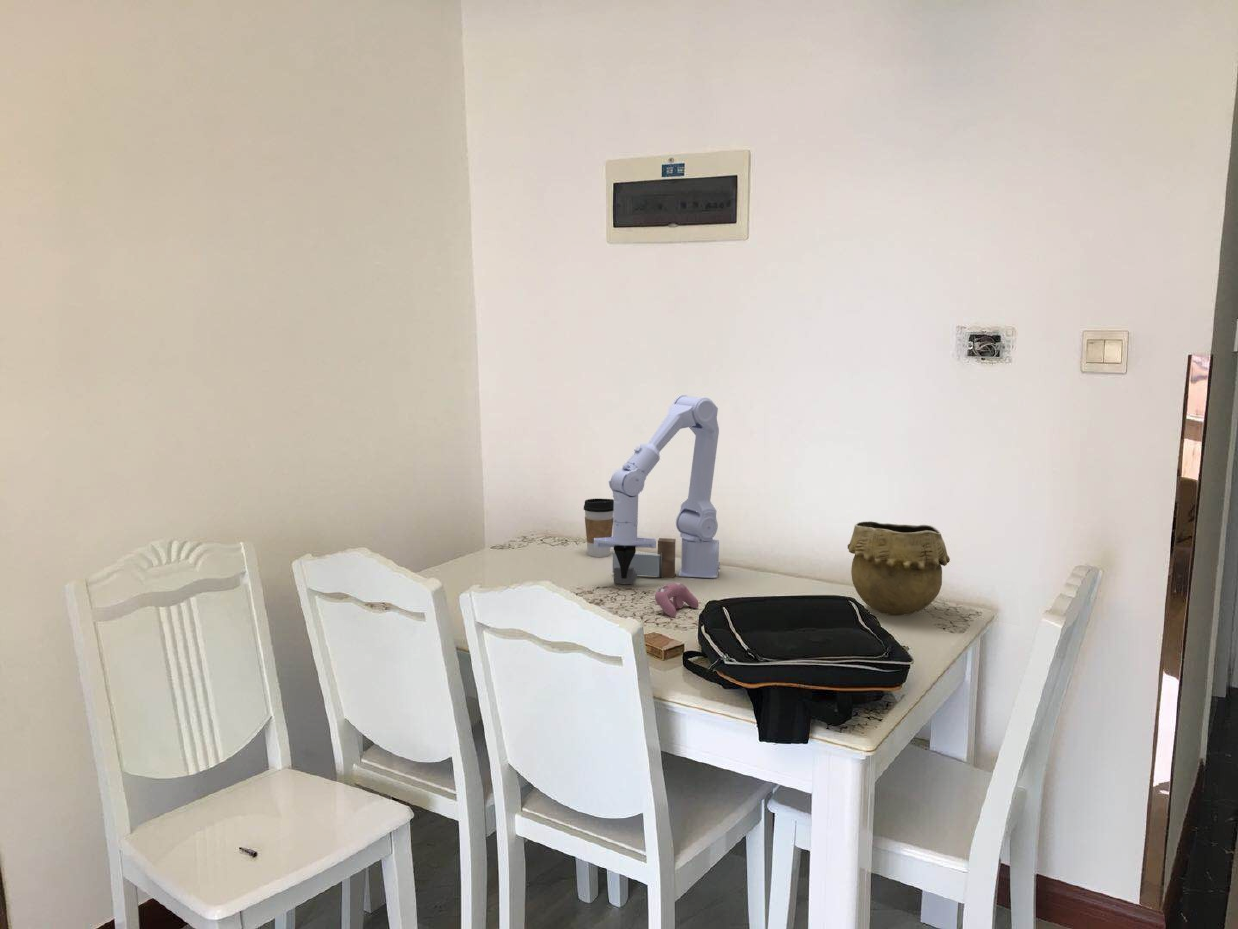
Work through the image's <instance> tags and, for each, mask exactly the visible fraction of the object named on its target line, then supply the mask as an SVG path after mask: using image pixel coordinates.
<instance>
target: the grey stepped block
mask: <svg viewBox="0 0 1238 929" xmlns="http://www.w3.org/2000/svg"><path fill="white" fill-rule="evenodd" d="M637 579H638V575H637V573H635V570H634V567H629V568H628V572H627V578H621V569H620V567H619V566H615V568H614V573H613V584H623V585H633V584H634V583H635V581H636V580H637Z"/></svg>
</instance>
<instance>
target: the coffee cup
mask: <svg viewBox="0 0 1238 929" xmlns="http://www.w3.org/2000/svg"><path fill="white" fill-rule="evenodd" d="M583 510H584V514H585V515H584V524H585V526H584V527H585V533H586V534H585V536H586V544H587V555H588V556H590V557H593V558H605V557H609V556H610V555H611V548H612V547H598V548H594V538H607V537H613V510H614V498H587V499H586V500H585V501H584V505H583Z"/></svg>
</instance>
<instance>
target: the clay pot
mask: <svg viewBox="0 0 1238 929" xmlns="http://www.w3.org/2000/svg"><path fill="white" fill-rule="evenodd" d="M847 549H848V552H849V553H850V554H854V556H853V558H852V562H851V568H850V569H851V571H850V572H851V573H850V574H851V581H852V584H853V586H854V589H855V592H856V593H857V594H858V596H859V597H860V599H861V600H862V602H864V604H866V606H868V607H870V608H871V609H873V610H874V611H876V612H878V613H880V614H883V615H887V616H892V617H893V616H894V617H898V616H907V615H912V614H914V613H917V612H920V611H922V610H924V609H925V608H927V607H928V606H929V605H930V604H931V603H932V602H933V601H935V599H936V598H937V596H938V595H939V593H940V590H941V588H942V585H943V567H946V566H947V565H948V564H949V562H951V558H950V557H949V555H948V552H947V547H946V544H945V541H944V539H943V536H942V533H941V532H940V530H939V529H937V527H935V526H933V525H928V524H920V525H914V524H897V523H880V522H877V521H872V520H871V521H870V520H869V521H861V522H857V523H856V524H854V528H853V530H852V535H851V538H850V541H849V543H848V544H847ZM942 566H943V567H942Z"/></svg>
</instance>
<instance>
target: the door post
mask: <svg viewBox="0 0 1238 929" xmlns="http://www.w3.org/2000/svg"><path fill="white" fill-rule="evenodd" d="M676 542H677V541H676V538H670V537H669V538H666V537H664V538H663V537H659V538H658V540H657V554H660V576H659V577H658V578H659V579H662V578H667V579H668V578H671V579H673V578H674V577H675V575H676Z"/></svg>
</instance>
